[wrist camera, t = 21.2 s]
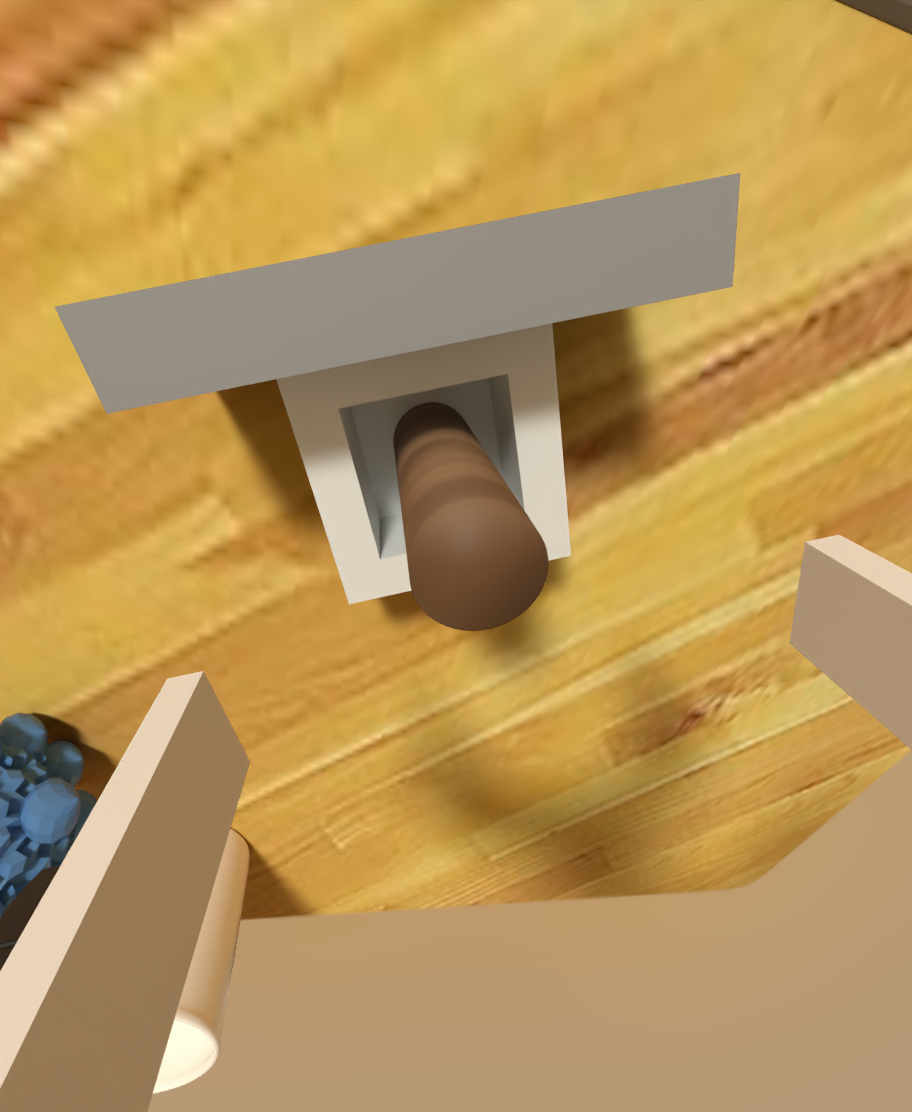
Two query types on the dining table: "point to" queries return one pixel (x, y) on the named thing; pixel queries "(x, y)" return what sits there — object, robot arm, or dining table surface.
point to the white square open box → (368, 451)
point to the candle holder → (208, 975)
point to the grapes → (36, 802)
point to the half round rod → (886, 11)
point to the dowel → (462, 525)
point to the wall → (406, 294)
